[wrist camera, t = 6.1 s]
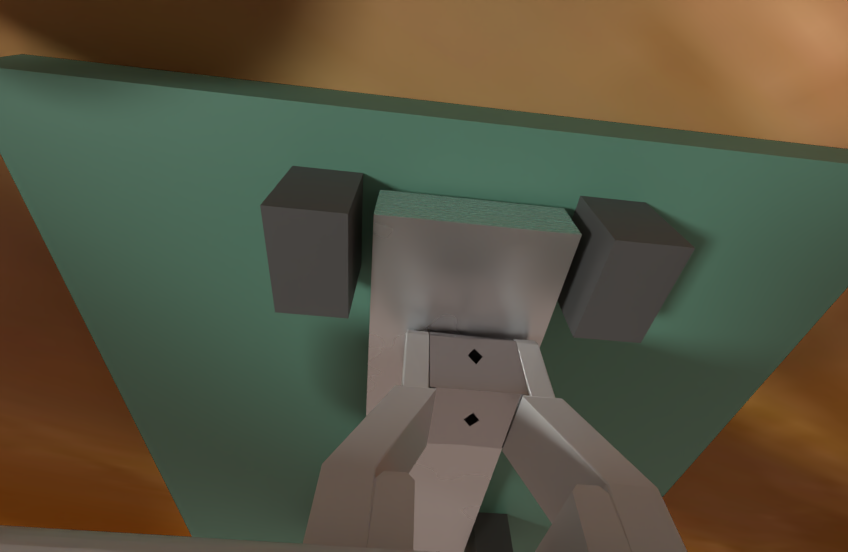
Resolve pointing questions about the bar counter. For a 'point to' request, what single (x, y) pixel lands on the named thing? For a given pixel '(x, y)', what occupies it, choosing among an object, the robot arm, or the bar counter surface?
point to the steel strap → (458, 318)
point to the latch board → (352, 265)
